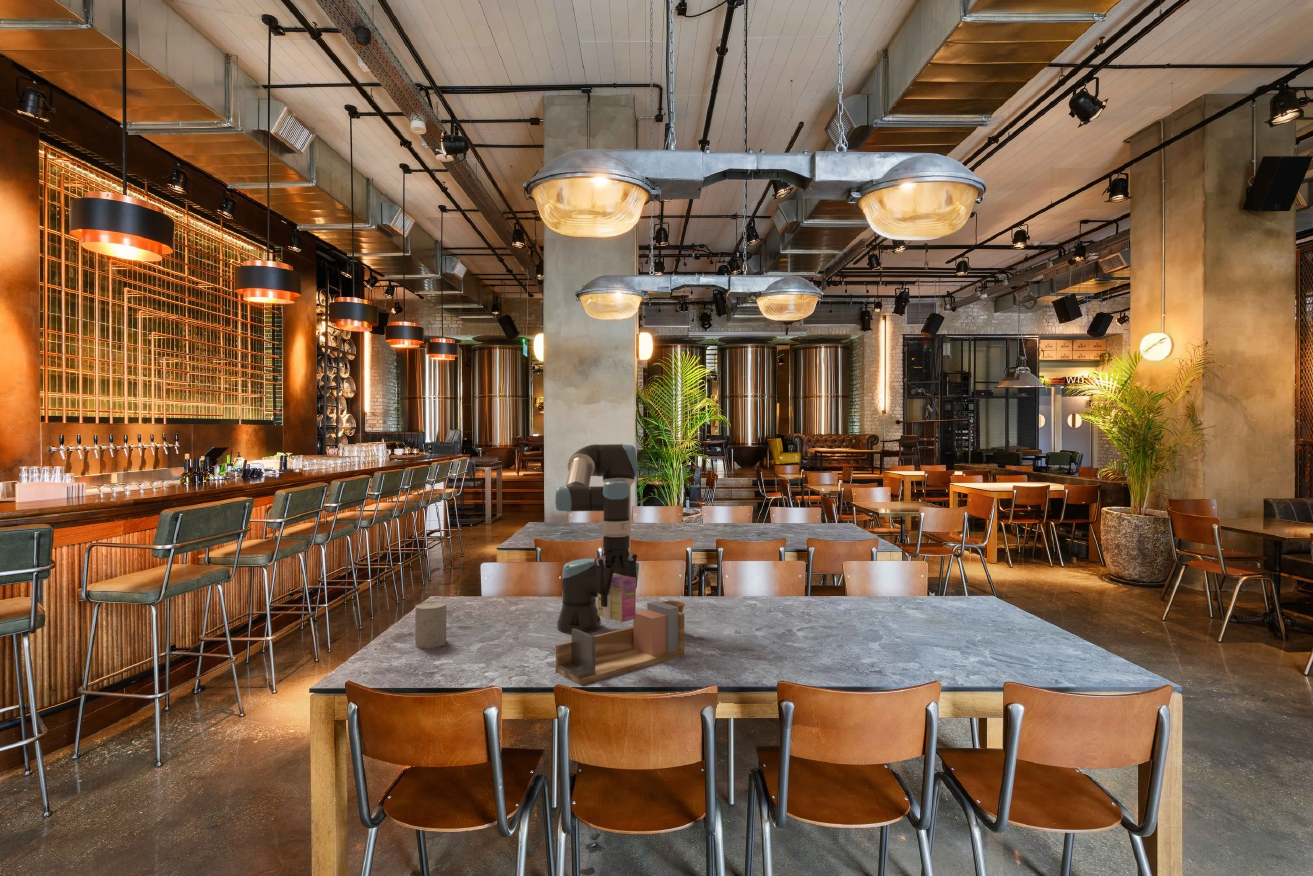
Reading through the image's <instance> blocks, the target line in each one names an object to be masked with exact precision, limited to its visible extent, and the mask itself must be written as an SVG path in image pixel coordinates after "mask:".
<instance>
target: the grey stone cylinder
mask: <svg viewBox="0 0 1313 876" xmlns="http://www.w3.org/2000/svg"><path fill="white" fill-rule="evenodd" d="M447 604H448V603H447V602H445V601H440V600H438V601H437V600H435V601H432V600H431V601H425V602H424V601H423V602H420V603H418V604H416V605H415V607H414V609H415V611H414V612H415V614H414V615H415V616H414V617H415V619H414V621H415V622H414V623H415V624H414V625H415V626H414V627H415V630H414V632H415V634H414V636H415V638H414V640H415V642H414V646H415V647H417V648H420V649H430V648H431V649H433V648H437V647H441V646H443V645H445V644H446V643H448V642H447V641H448V640H447Z"/></svg>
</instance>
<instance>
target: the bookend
mask: <svg viewBox="0 0 1313 876" xmlns="http://www.w3.org/2000/svg"><path fill="white" fill-rule="evenodd" d="M571 641H572V662H569V663H565V664H561V665H559V668H560V669H562V670H564V671H566V672H568V673H570V674H572V675H574V676H576V677H578V678H581V677H585V676H588V675H592V674H595V635H593V634H590V633H589V632H587V633H586V632H583V631H581V630H578V629H576V628H574V629H572V633H571Z"/></svg>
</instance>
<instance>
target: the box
mask: <svg viewBox="0 0 1313 876" xmlns="http://www.w3.org/2000/svg"><path fill="white" fill-rule="evenodd" d="M608 595H611V619H610V620H614V621H617V622H619V623H625V622H628V621H631V620H633V619H635V612H636V605H637V604H636V602H637V601H636V600H637V599H636V597H637V596H636V595H637V588H636V578H635V577H630V576H624V575H620V574H616V573H613V577H612V578H611V585H610V589H609V593H608ZM596 607H597V615H599V616H600V617H603V606H601V595H600V594H598V597H597V602H596Z"/></svg>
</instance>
